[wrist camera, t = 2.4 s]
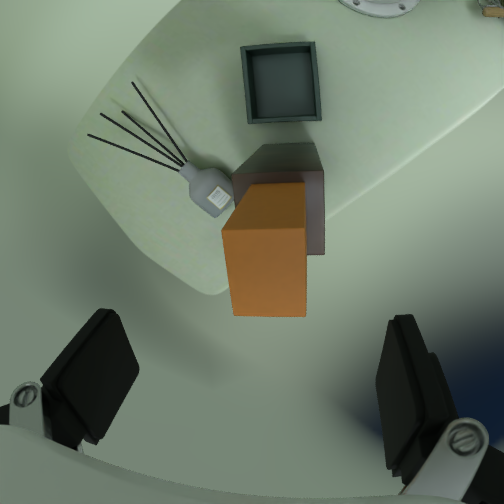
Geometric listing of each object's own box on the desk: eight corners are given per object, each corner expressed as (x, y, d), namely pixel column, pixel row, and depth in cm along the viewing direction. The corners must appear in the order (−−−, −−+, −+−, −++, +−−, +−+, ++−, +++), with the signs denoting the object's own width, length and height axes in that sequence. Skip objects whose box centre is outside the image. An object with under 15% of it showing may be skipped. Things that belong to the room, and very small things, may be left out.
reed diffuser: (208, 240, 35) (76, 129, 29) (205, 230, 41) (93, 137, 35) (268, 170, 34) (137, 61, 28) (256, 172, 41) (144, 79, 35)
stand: (314, 142, 34) (323, 170, 19) (316, 191, 37) (324, 255, 22) (262, 144, 35) (231, 174, 20) (266, 193, 38) (240, 256, 23)
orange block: (304, 182, 20) (305, 227, 13) (306, 245, 22) (306, 317, 14) (251, 184, 20) (220, 230, 13) (256, 246, 22) (233, 316, 15)
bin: (313, 49, 29) (314, 41, 25) (319, 119, 33) (321, 120, 29) (247, 53, 31) (240, 46, 27) (254, 122, 34) (247, 124, 30)
